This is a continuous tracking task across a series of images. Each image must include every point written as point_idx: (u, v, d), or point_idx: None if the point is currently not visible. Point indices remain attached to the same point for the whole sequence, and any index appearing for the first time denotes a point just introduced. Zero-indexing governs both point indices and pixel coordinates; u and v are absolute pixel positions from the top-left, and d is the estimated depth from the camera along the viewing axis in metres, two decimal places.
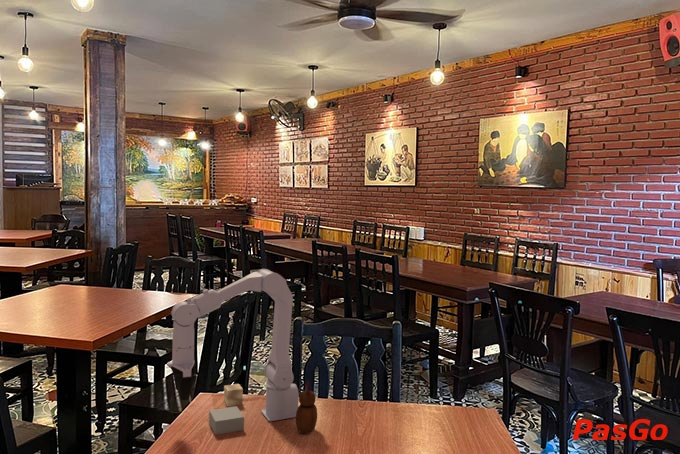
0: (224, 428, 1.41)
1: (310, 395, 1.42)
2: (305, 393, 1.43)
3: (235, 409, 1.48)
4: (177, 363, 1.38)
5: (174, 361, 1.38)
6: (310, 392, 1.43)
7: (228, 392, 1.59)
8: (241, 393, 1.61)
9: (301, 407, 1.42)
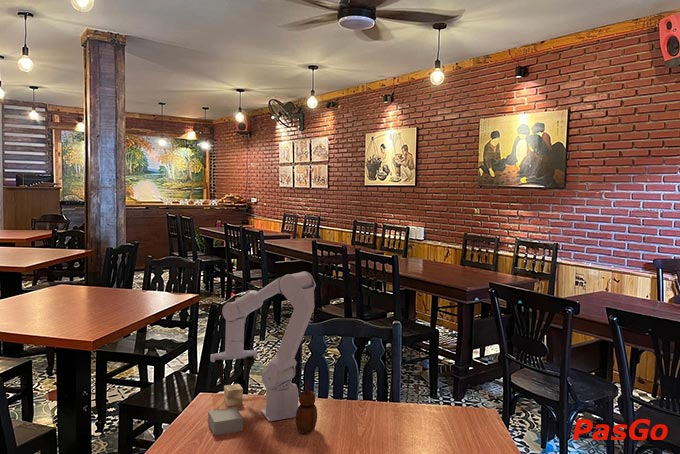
0: (223, 429, 1.40)
1: (310, 395, 1.42)
2: (305, 393, 1.43)
3: (234, 409, 1.48)
4: None
5: None
6: (310, 392, 1.43)
7: (228, 392, 1.59)
8: (241, 393, 1.61)
9: (301, 407, 1.42)
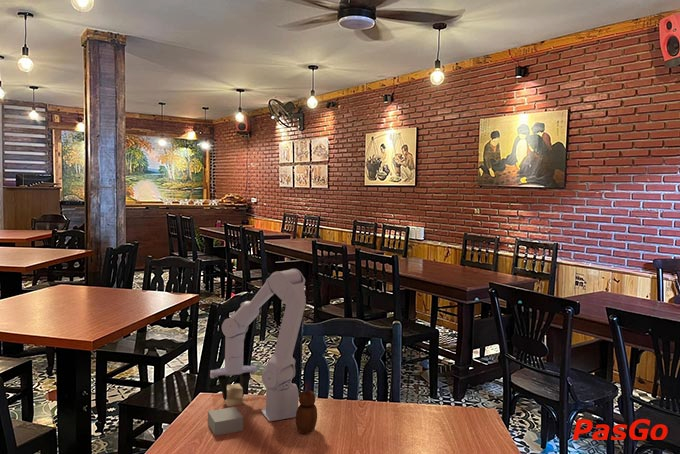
0: (223, 428, 1.40)
1: (310, 395, 1.42)
2: (305, 393, 1.43)
3: (234, 409, 1.48)
4: None
5: None
6: (310, 392, 1.43)
7: (228, 392, 1.59)
8: (241, 393, 1.61)
9: (301, 407, 1.42)
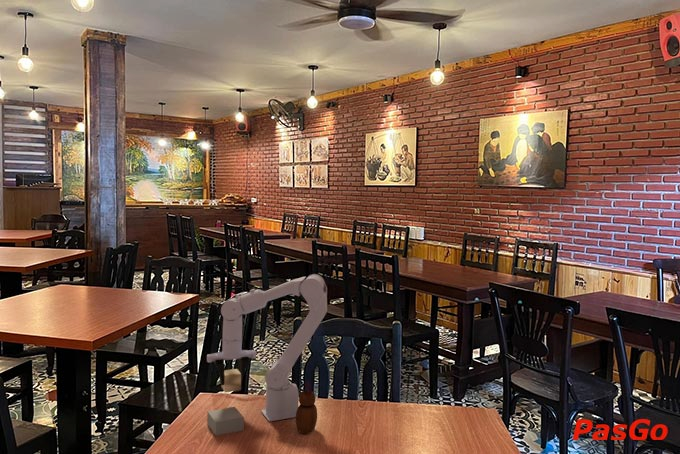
0: (224, 429, 1.40)
1: (310, 395, 1.42)
2: (305, 393, 1.43)
3: (234, 409, 1.48)
4: None
5: None
6: (310, 392, 1.43)
7: (226, 377, 1.52)
8: (240, 379, 1.53)
9: (301, 407, 1.42)
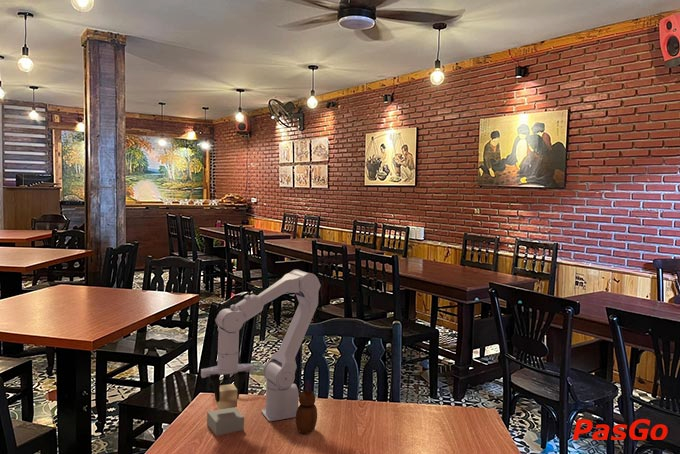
0: (224, 428, 1.40)
1: (310, 395, 1.42)
2: (305, 393, 1.43)
3: (233, 409, 1.48)
4: None
5: None
6: (310, 392, 1.43)
7: (221, 393, 1.42)
8: (236, 395, 1.44)
9: (301, 407, 1.42)
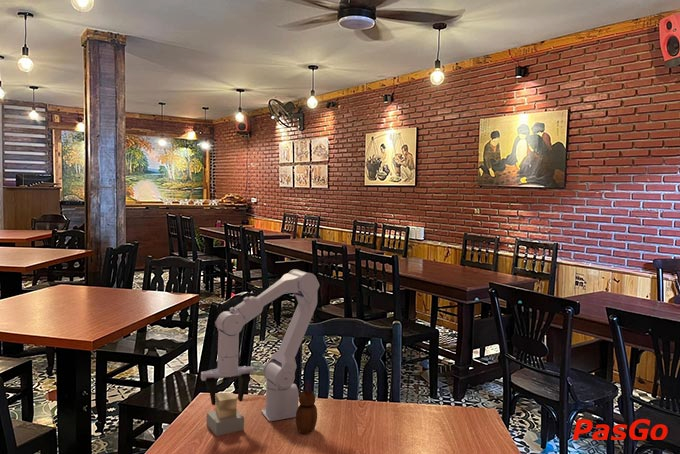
0: (224, 429, 1.40)
1: (310, 395, 1.42)
2: (305, 393, 1.43)
3: None
4: None
5: None
6: (310, 392, 1.43)
7: (220, 402, 1.42)
8: (235, 403, 1.44)
9: (301, 407, 1.42)
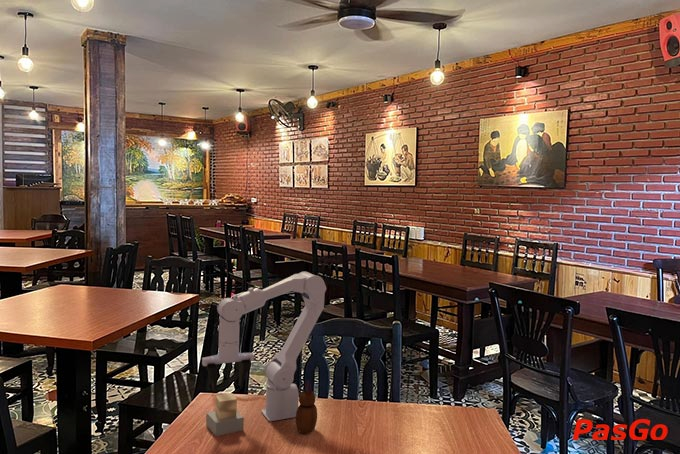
0: (224, 429, 1.40)
1: (310, 395, 1.42)
2: (305, 393, 1.43)
3: None
4: None
5: None
6: (310, 392, 1.43)
7: (220, 403, 1.41)
8: (235, 404, 1.43)
9: (301, 407, 1.42)
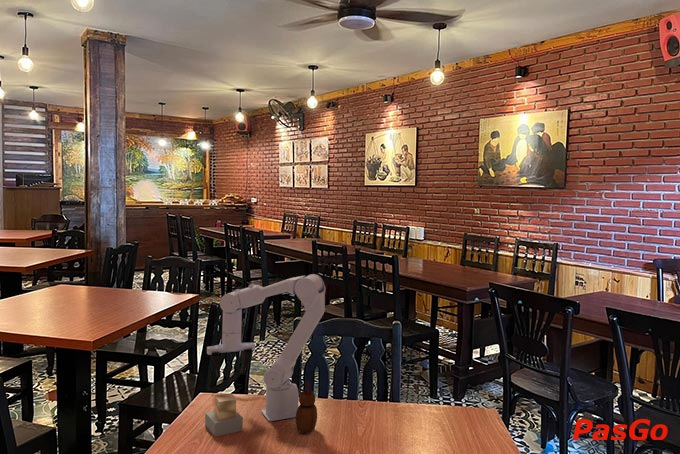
0: (223, 429, 1.40)
1: (310, 395, 1.42)
2: (305, 393, 1.43)
3: None
4: None
5: None
6: (310, 392, 1.43)
7: (220, 403, 1.41)
8: (235, 405, 1.43)
9: (301, 407, 1.42)
